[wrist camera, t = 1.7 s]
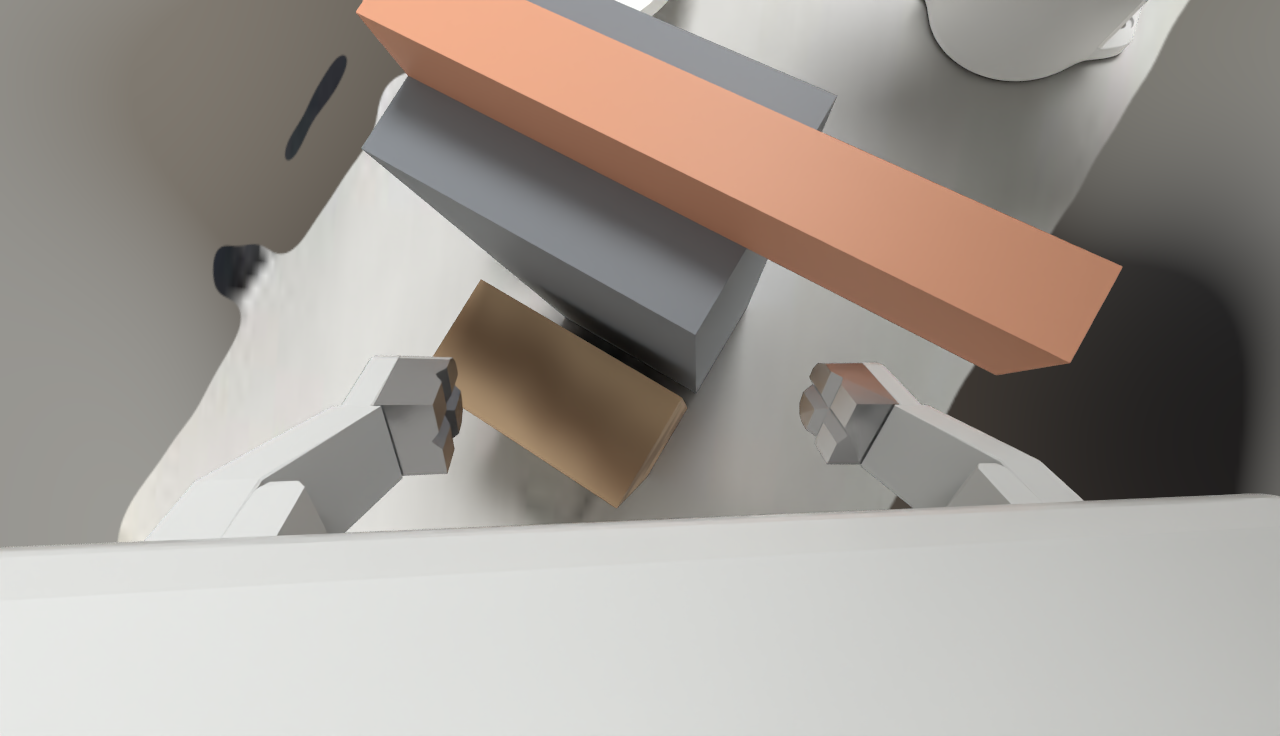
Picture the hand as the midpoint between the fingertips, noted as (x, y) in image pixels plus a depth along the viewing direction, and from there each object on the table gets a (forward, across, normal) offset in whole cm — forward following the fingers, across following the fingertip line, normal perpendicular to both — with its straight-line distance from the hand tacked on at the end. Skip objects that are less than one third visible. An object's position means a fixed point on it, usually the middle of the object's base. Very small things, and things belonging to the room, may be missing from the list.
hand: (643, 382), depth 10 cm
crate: (+23, -1, +20) cm, 31 cm away
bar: (+7, -2, -3) cm, 8 cm away
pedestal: (+28, -6, +13) cm, 31 cm away
